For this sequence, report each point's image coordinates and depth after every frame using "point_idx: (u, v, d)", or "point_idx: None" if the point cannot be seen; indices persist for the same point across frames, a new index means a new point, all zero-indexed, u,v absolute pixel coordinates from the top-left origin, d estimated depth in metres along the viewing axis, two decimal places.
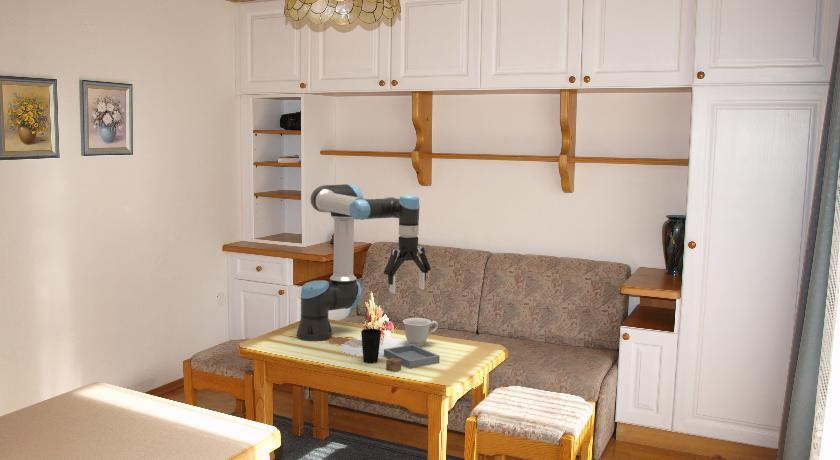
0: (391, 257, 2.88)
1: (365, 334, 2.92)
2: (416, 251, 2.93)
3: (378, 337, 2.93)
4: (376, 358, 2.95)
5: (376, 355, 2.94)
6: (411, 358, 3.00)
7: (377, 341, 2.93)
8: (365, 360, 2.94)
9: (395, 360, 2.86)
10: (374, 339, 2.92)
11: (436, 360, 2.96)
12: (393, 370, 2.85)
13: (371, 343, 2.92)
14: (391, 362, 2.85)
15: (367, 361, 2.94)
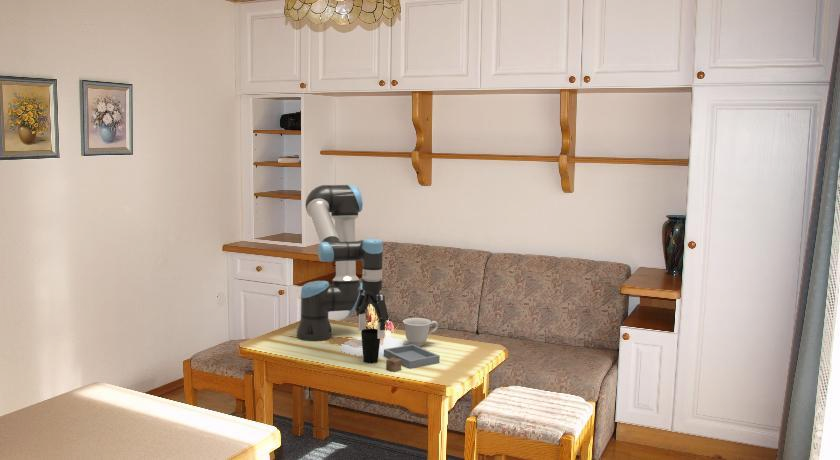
0: None
1: (365, 334, 2.92)
2: (374, 297, 2.90)
3: None
4: (376, 358, 2.95)
5: (376, 355, 2.94)
6: (411, 358, 3.00)
7: (377, 341, 2.93)
8: (365, 360, 2.94)
9: (395, 360, 2.86)
10: (374, 339, 2.92)
11: (436, 360, 2.96)
12: (393, 370, 2.85)
13: (371, 343, 2.92)
14: (391, 362, 2.85)
15: (367, 361, 2.94)
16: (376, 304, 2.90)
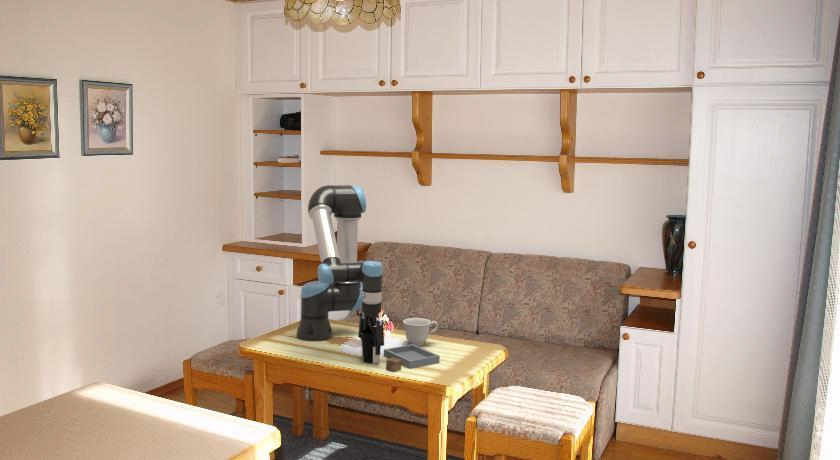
0: None
1: (365, 334, 2.92)
2: (373, 319, 2.91)
3: None
4: None
5: None
6: (411, 358, 3.00)
7: None
8: (365, 360, 2.94)
9: (395, 360, 2.86)
10: None
11: (436, 360, 2.96)
12: (393, 370, 2.85)
13: (371, 343, 2.92)
14: (391, 362, 2.85)
15: (367, 361, 2.94)
16: (374, 328, 2.92)
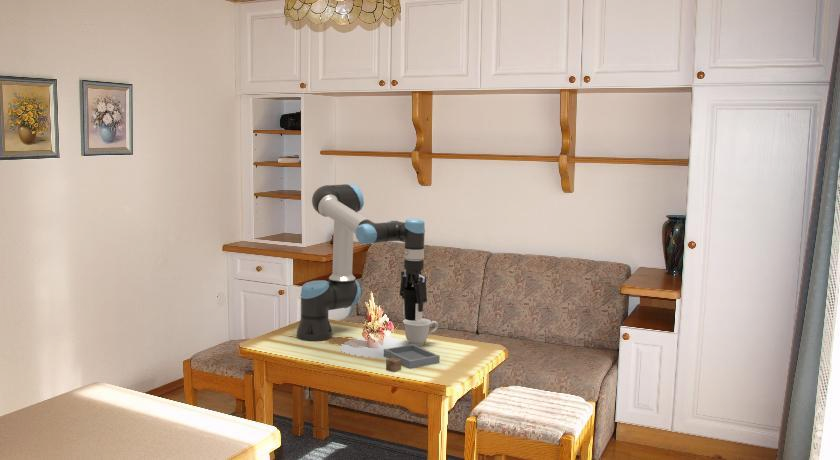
0: None
1: (407, 291, 2.94)
2: (416, 276, 2.93)
3: None
4: None
5: None
6: (411, 358, 3.00)
7: None
8: (407, 317, 2.96)
9: (395, 360, 2.86)
10: None
11: (436, 360, 2.96)
12: (393, 370, 2.85)
13: (413, 300, 2.94)
14: (391, 362, 2.85)
15: (409, 318, 2.96)
16: (417, 285, 2.94)
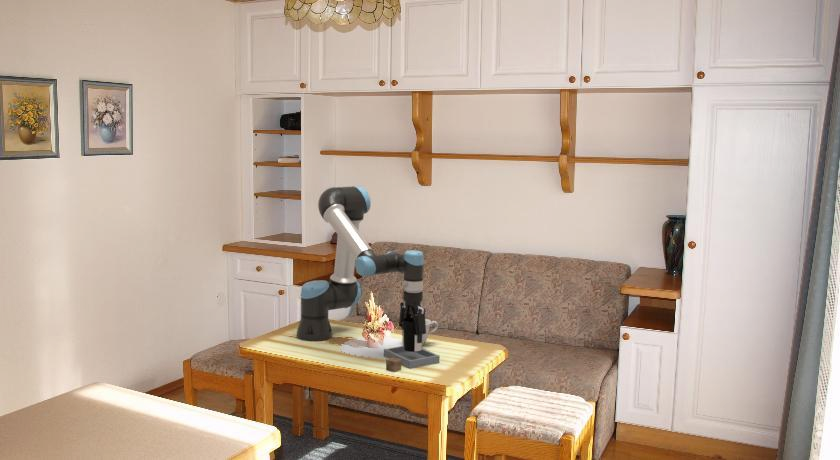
0: None
1: (407, 322, 2.95)
2: (415, 308, 2.95)
3: None
4: None
5: None
6: (411, 358, 3.00)
7: None
8: (406, 348, 2.98)
9: (395, 360, 2.86)
10: None
11: (436, 360, 2.96)
12: (393, 370, 2.85)
13: (413, 331, 2.96)
14: (391, 362, 2.85)
15: (408, 349, 2.97)
16: (416, 316, 2.95)
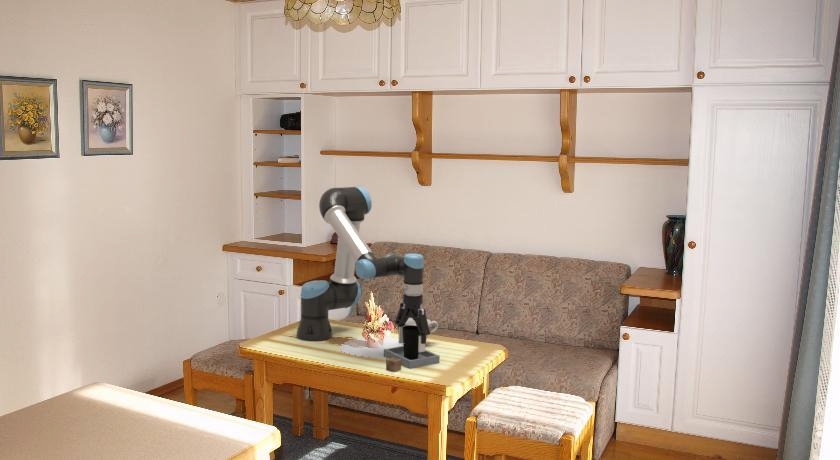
0: None
1: (406, 330, 2.96)
2: (415, 311, 2.95)
3: (419, 334, 2.97)
4: (417, 354, 2.99)
5: (417, 352, 2.98)
6: None
7: (418, 338, 2.97)
8: (406, 356, 2.98)
9: (395, 360, 2.86)
10: (415, 335, 2.96)
11: (436, 360, 2.96)
12: (393, 370, 2.85)
13: (412, 339, 2.96)
14: (391, 362, 2.85)
15: (408, 357, 2.98)
16: (417, 318, 2.95)
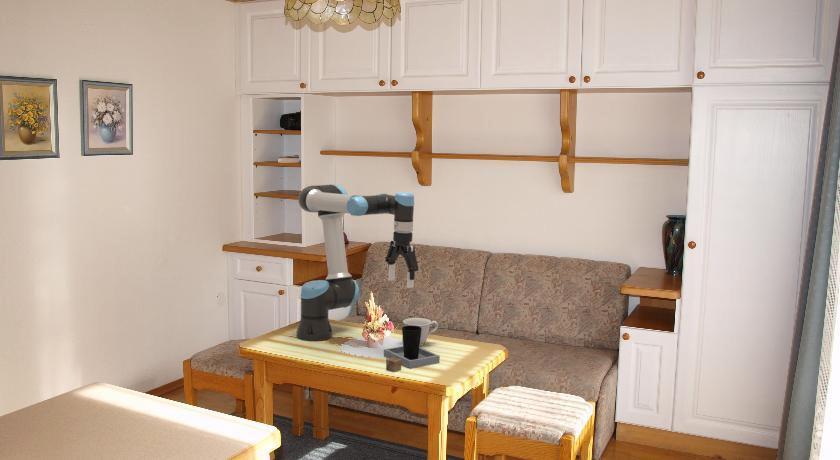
0: None
1: (406, 331, 2.96)
2: (404, 248, 3.01)
3: (419, 334, 2.97)
4: (417, 354, 2.99)
5: (417, 352, 2.98)
6: None
7: (418, 338, 2.97)
8: (406, 356, 2.98)
9: (395, 360, 2.86)
10: (415, 335, 2.96)
11: (436, 360, 2.96)
12: (393, 370, 2.85)
13: (412, 340, 2.96)
14: (391, 362, 2.85)
15: (408, 357, 2.98)
16: (406, 255, 3.01)
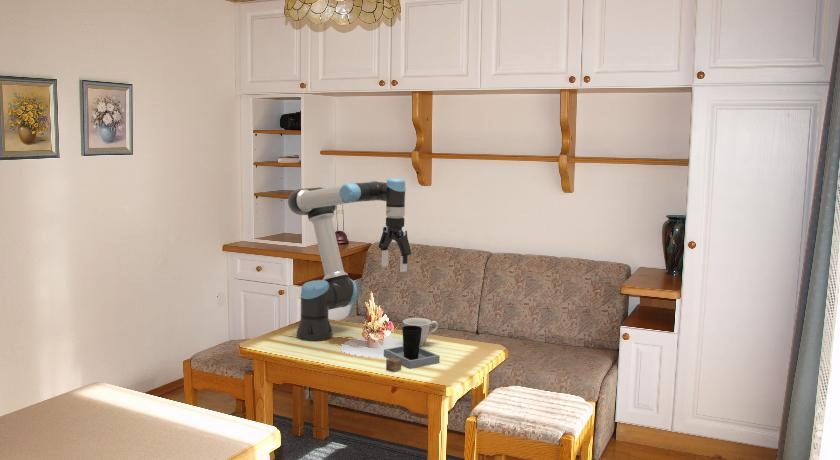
0: None
1: (406, 331, 2.96)
2: (397, 232, 3.07)
3: (419, 334, 2.97)
4: (417, 354, 2.99)
5: (417, 352, 2.98)
6: None
7: (418, 338, 2.97)
8: (406, 356, 2.98)
9: (395, 360, 2.86)
10: (415, 335, 2.96)
11: (436, 360, 2.96)
12: (393, 370, 2.85)
13: (412, 340, 2.96)
14: (391, 362, 2.85)
15: (408, 357, 2.98)
16: (399, 239, 3.07)
